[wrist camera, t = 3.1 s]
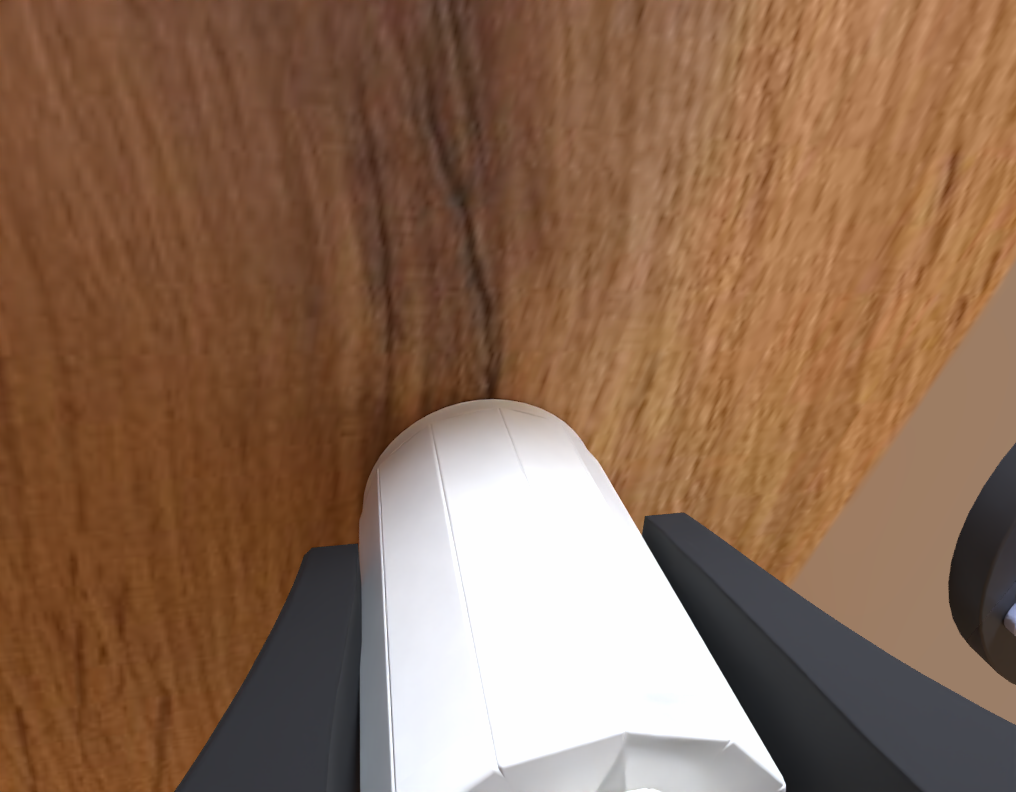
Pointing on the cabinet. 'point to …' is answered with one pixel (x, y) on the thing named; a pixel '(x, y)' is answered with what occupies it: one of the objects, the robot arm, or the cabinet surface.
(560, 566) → the bottle
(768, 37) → the cabinet surface
